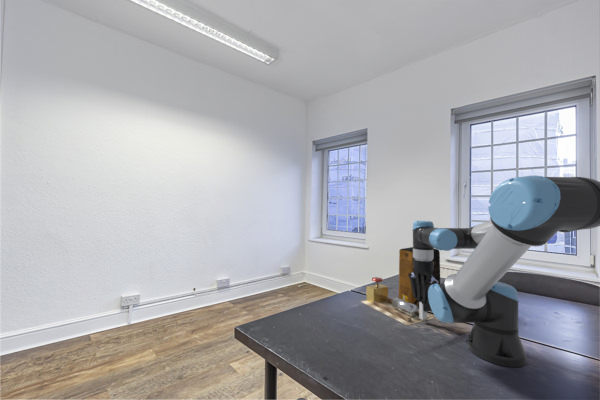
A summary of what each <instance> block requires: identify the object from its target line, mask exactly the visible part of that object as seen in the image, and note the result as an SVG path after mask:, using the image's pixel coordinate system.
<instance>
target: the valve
mask: <svg viewBox="0 0 600 400" xmlns="http://www.w3.org/2000/svg"><path fill="white" fill-rule="evenodd" d="M371 281H373V282H375V284H372V285H366V290H365V296H366V300H367V301H369V302H371V303H372V301H378V302H380V303H381V302H386V298H389V286H387V285H385V284H382V283H381V282H383V278H382V277H378V276H377V277H376V276H374V277H372V278H371Z"/></svg>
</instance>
